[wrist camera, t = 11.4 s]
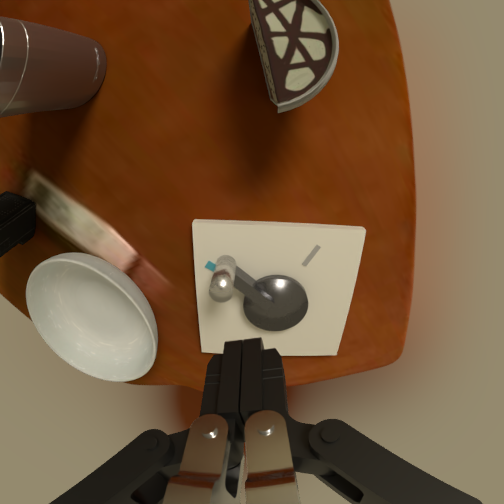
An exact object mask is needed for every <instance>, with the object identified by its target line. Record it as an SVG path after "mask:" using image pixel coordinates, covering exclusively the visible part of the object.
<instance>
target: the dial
mask: <svg viewBox="0 0 504 504" xmlns="http://www.w3.org/2000/svg"><path fill="white" fill-rule="evenodd" d="M233 287H235V288H236V289H237V290H239V291H240V292H241V293H243V294H244V295H245V296H244V302H243V309H244V313H245V316H246V317H247V319H248V320H249V321H250V322H251V323H252V324H253V325H254V326H256V327H258V328H260V329H263V330H267V331H282V330H286V329H289V328H292V327H293V326H295V325H297V324H298V323H299V322H300V321H301V320H302V319H303V318H304V316H305V315H306V313H307V310H308V298H307V294H306V291H305V289H304V287H303V286H302V285H301V284H300V283H299V282H298V281H296V280H295V279H293V278H291V277H288V276H285V275H269V276H265V277H262V278H260V279H258V280H255V279H253V278H252V277H251V276H249V275H248V274H247V273H246V272H244V271H243V270H242V269H241V268H239V267H238V266H237V265H236V261H235V259H234V258H233V257H231V256H229V255H222V256H220V257H219V258H218V259H217V261H216V265H215V268H214V272H213V276H212V280H211V284H210V288H209V296H210V297H211V298H212V299H213V300H214V301H216V302H220V303H224V302H227V301H229V300H230V299H231V298H232V295H233Z"/></svg>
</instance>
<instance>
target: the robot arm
mask: <svg viewBox="0 0 504 504" xmlns="http://www.w3.org/2000/svg"><path fill="white" fill-rule="evenodd" d="M105 72H106V56H105V53H104V50H103V48H102V47H101V45H100V44H99V43H98V42H96V41H94V40H93V39H90V38H87V37H84V36H80V35H77V34H74V33H71V32H67V31H64V30H60V29H56V28H52V27H48V26H44V25H40V24H36V23H31V22H27V21H22V20H17V19H10V18H5V17H0V118H1V117H7V116H13V115H19V114H26V113H33V112H41V111H50V110H60V109H71V108H76V107H79V106H81V105H83V104H85V103H86V102H87V101H89V100H90V99H91V98H92V97H93V96H94V95H95V93H96V92H97V91H98V89H99V88H100V86H101V84H102V82H103V79H104V76H105ZM244 442H245V443H246V458H247V474H248V477H247V480H246V482H245V495H246V504H301V502H300V497H299V491H298V485H297V479H296V473H295V472H301V473H308V474H314V475H315V476H316V477H317V478H318V479H319V480H321V481H322V482H323V483H325V484H326V485H327V486H329V487H330V488H331V489H332V490H334V491H335V492H336V493H338V494H339V495H341V496H342V497H343V498H345V499H346V500H347V501H349V502H350V503H352V504H482V502H481V501H480V500H478V499H477V498H474V497H472V496H470V495H468V494H466V493H464V492H462V491H460V490H458V489H456V488H454V487H452V486H450V485H448V484H446V483H444V482H443V481H441V480H439V479H437V478H435V477H433V476H431V475H430V474H428V473H426V472H424V471H422V470H421V469H419V468H417V467H415V466H414V465H412V464H410V463H408V462H407V461H405V460H403V459H402V458H400V457H398V456H397V455H395V454H393V453H392V452H390V451H388V450H387V449H385V448H384V447H382V446H380V445H379V444H377V443H376V442H374V441H372V440H371V439H369V438H368V437H366V436H365V435H363V434H362V433H360V432H359V431H357V430H355V429H354V428H352V427H351V426H349V425H348V424H346V423H345V422H343V421H341V420H337V419H327V420H324V421H321V422H319V423H317V424H316V425H312V424H305V423H300V422H297V421H295V420H294V419H292V418H291V417H290V416H289V414H288V404H287V392H286V381H285V375H284V369H283V363H282V357H281V355H280V354H279V352H278V351H277V350H276V348H271V349H264V345H263V341H262V338H261V337H258V338H251V339H244V340H234V341H225V343H224V350H223V354H219V355H214V356H213V357H212V359H211V360H210V362H209V363H208V366H207V372H206V378H205V385H204V391H203V398H202V405H201V411H200V416H199V418H197V419H196V420H195V421H194V422H193V423H192V425H191V427H190V428H189V429H187V430H184V431H182V432H178V433H174V434H170V435H166V433H164V432H163V431H161V430H158V429H151V430H147V431H145V432H143V433H142V434H140V435H139V436H138V437H137V438H136V439H134V440H133V441H132V442H130V443H129V444H128V445H127V446H126V447H124V448H123V449H122V450H121V451H119V452H118V453H117V454H116V455H114V456H113V457H112V458H110V459H109V460H108V461H107V462H105V463H104V464H103V465H101V466H100V467H99V468H98V469H96V470H95V471H94V472H92V473H91V474H90V475H88V476H87V477H86V478H84V479H83V480H82V481H80V482H79V483H78V484H76V485H75V486H73V487H72V488H71V489H69V490H68V491H67V492H65V493H64V494H62V495H61V496H59V497H58V498H57V499H55V500H54V501H52V502H51V503H50V504H240V493H241V484H242V477H243V468H244V454H243V448H244Z"/></svg>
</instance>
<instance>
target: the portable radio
mask: <svg viewBox="0 0 504 504" xmlns="http://www.w3.org/2000/svg"><path fill="white" fill-rule="evenodd" d="M35 208H36V205H35V203H34V202H32V200H30V199H27V198H24V197H22V196H19V195H16V194H13V193H10V192H8V191H6V192H4V193H2V194H1V195H0V257H1V256H3V255H4V254H5V253H6V252H8V251H9V250H10V249H12V248H13V247H14V246H16V245H17V244H18V243H19V244H22V245H23V244H24V243H26V242H27V241H28V240H30V239H31V238H32V237H33V235H34V232H35Z"/></svg>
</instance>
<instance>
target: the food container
mask: <svg viewBox="0 0 504 504" xmlns="http://www.w3.org/2000/svg"><path fill="white" fill-rule="evenodd" d="M249 8H250V16H251V23H252V27H253V31H254V34H255V38H256V42H257V46H258V50H259V54H260V58H261V62H262V66H263V71H264V75H265V79H266V83H267V88H268V92H269V96H270V100H271V101H272V102H273V103H274V104H275V105H277V106H278V113H281V112H285V111H289V110H291V109H294V108H296V107H299V106H301V105H302V104H304V103H306V102H307V101H309V100H311V99H312V98H313V97H314V96H316V95H317V94H318V93H319V92H320V91H321V90H322V89H323V88H324V86H325V85H326V84H327V82H328V81H329V79H330V77H331V76H332V74H333V71H334V69H335V66H336V62H337V57H338V49H339V41H338V35H337V30H336V27H335V25H334V22H333V20H332V18H331V16H330V15H329V13H328V11H327V10H326V9H325V8H324V6H323V5H322V4H321V3H320V2H319V1H318V0H249Z"/></svg>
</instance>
